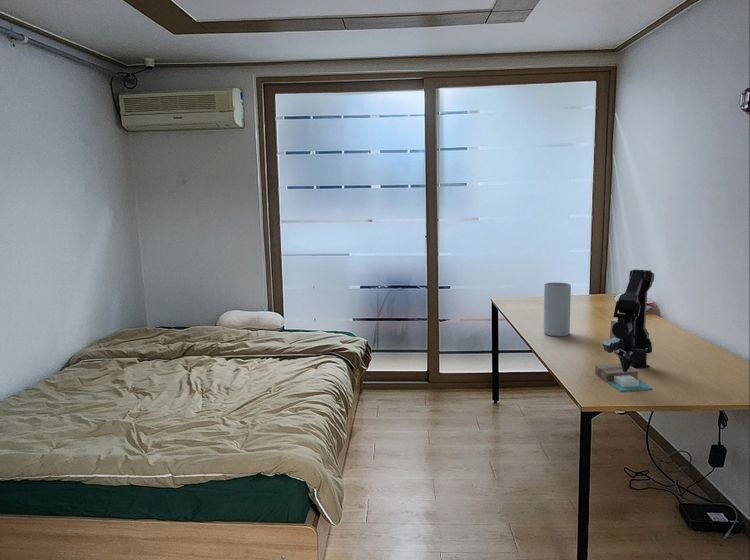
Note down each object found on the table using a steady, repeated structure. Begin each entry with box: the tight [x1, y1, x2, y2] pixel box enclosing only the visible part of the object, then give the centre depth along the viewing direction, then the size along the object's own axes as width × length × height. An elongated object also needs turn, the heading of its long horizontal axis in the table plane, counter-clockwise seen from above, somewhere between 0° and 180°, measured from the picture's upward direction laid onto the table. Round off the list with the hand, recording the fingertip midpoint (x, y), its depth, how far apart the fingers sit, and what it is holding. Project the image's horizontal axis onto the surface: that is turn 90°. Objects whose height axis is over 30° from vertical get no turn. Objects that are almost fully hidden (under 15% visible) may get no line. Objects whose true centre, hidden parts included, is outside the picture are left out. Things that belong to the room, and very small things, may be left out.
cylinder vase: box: [543, 281, 572, 338], centre depth 293 cm, size 12×12×25 cm
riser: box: [594, 363, 639, 383], centre depth 228 cm, size 10×12×4 cm
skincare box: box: [609, 318, 618, 339], centre depth 269 cm, size 6×4×12 cm
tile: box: [614, 375, 639, 387], centre depth 220 cm, size 7×6×2 cm
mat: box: [607, 379, 653, 392], centre depth 218 cm, size 10×12×1 cm
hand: (624, 371), depth 222 cm, fingers closed
